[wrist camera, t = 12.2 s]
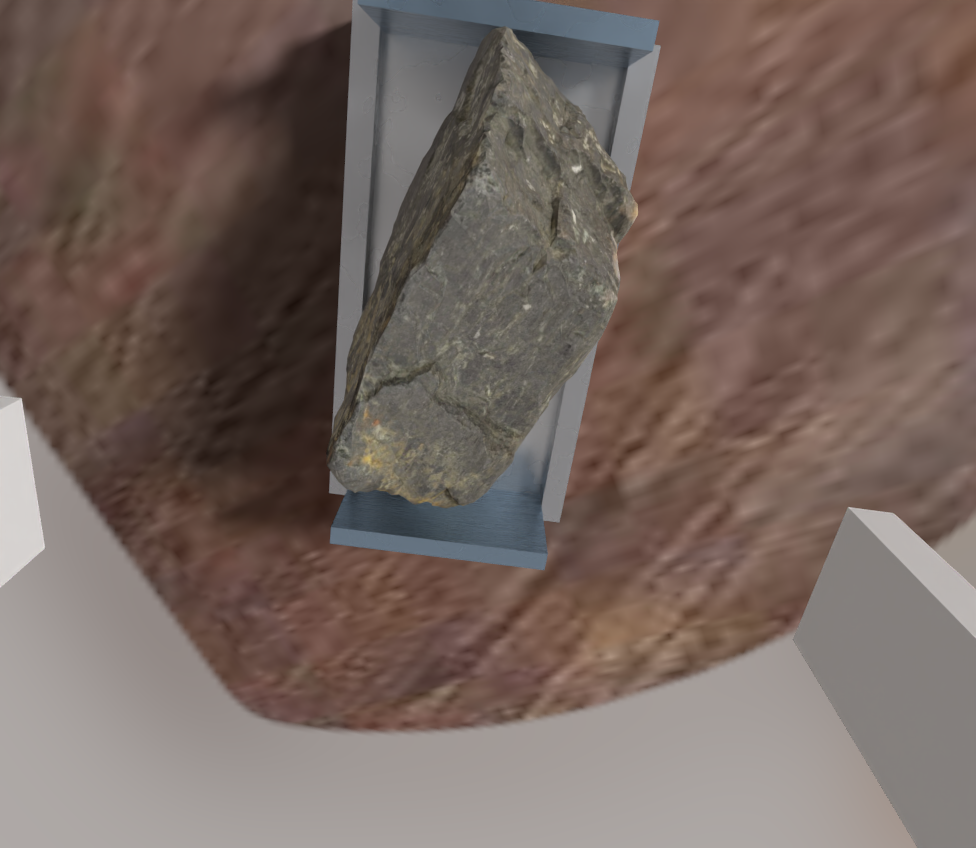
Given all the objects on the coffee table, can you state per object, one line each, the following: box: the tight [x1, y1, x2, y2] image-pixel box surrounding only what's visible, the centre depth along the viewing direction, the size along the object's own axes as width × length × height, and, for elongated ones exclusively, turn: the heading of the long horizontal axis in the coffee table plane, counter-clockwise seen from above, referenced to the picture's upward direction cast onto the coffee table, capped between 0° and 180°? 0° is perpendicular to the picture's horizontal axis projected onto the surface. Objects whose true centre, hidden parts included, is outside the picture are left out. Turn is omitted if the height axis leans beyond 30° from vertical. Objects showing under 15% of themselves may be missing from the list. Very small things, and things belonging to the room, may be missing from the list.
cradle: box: [329, 0, 661, 570], centre depth 26 cm, size 20×11×7 cm, turn 172°
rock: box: [326, 26, 638, 508], centre depth 23 cm, size 17×7×10 cm
